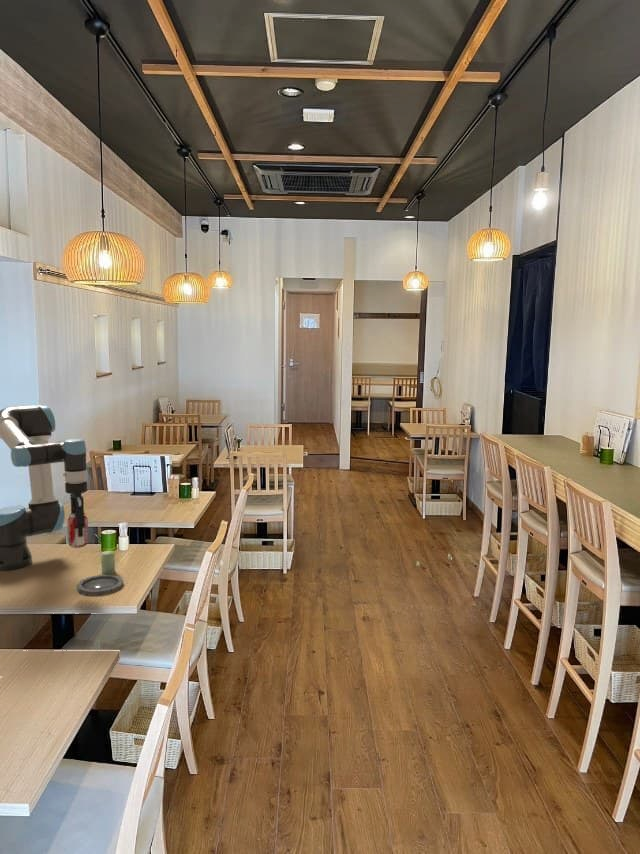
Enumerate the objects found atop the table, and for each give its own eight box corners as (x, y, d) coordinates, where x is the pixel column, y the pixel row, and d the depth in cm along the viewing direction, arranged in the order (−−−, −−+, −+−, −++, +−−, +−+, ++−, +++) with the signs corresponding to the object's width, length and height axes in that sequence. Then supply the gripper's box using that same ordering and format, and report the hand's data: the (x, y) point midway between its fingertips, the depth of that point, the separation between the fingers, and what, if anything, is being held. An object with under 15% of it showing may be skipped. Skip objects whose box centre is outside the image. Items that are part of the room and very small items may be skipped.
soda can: (81, 549, 222) (79, 517, 221) (64, 548, 224) (62, 516, 222) (92, 543, 229) (91, 512, 227) (76, 542, 231) (74, 511, 229)
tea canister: (100, 571, 245) (99, 552, 244) (113, 568, 248) (112, 550, 246) (103, 575, 241) (102, 555, 240) (116, 572, 243) (115, 553, 242)
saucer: (73, 583, 233) (73, 579, 232) (116, 575, 241) (116, 571, 241) (82, 598, 219) (82, 594, 219) (127, 589, 228) (127, 586, 227)
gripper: (61, 477, 230) (64, 536, 233) (69, 487, 213) (72, 551, 216) (82, 475, 234) (84, 533, 237) (91, 485, 217) (94, 547, 220)
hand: (78, 541), depth 226 cm, fingers closed on soda can, 7 cm apart
